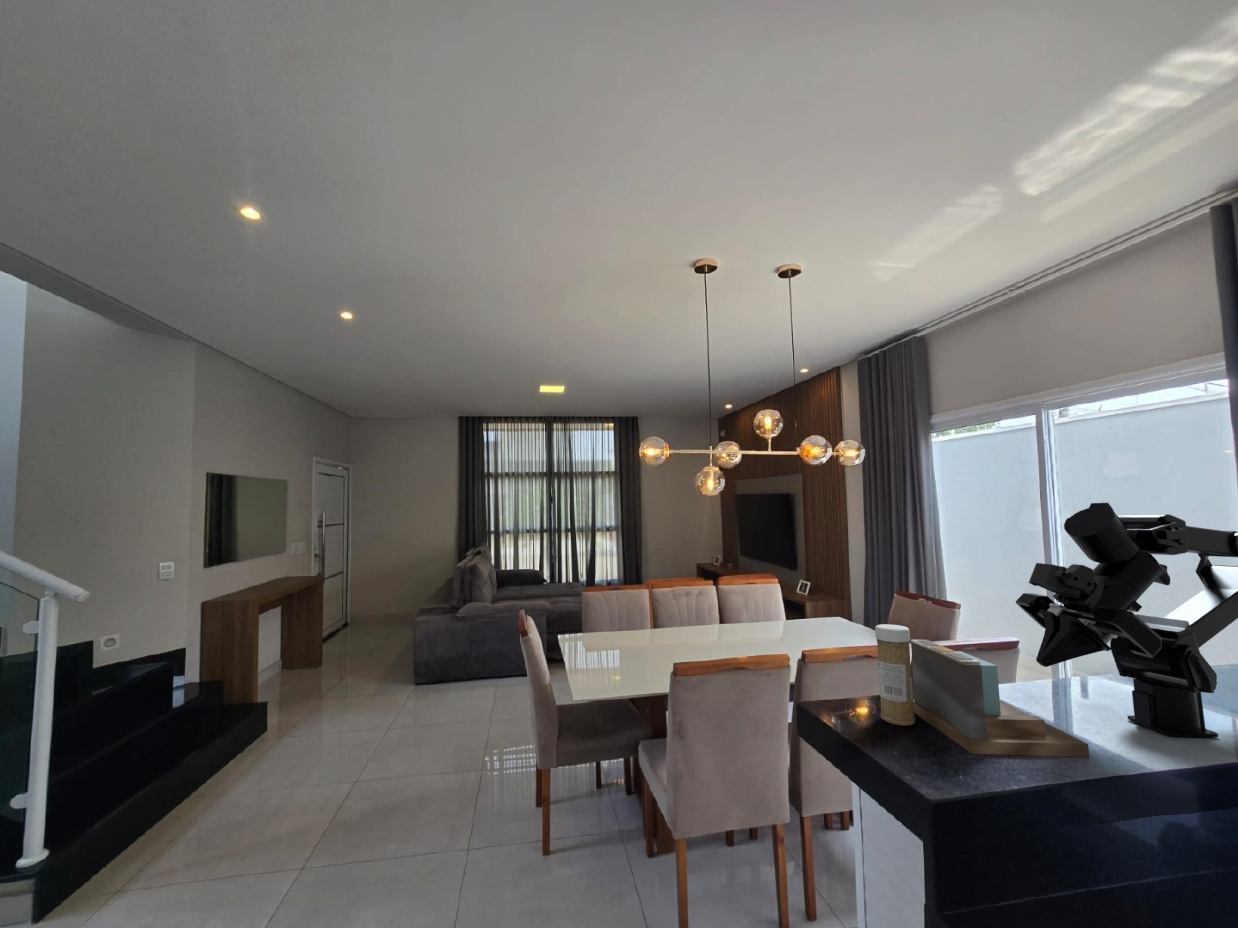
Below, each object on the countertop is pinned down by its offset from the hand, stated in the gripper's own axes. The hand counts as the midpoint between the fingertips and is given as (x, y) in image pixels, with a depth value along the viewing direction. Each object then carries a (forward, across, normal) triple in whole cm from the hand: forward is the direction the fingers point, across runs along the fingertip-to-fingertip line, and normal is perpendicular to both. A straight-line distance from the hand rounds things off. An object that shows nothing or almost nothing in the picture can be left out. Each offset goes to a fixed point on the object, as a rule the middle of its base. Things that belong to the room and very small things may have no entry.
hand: (1040, 663), depth 74 cm
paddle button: (+12, 0, -2) cm, 12 cm away
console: (+12, 0, +1) cm, 12 cm away
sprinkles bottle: (+20, -2, -7) cm, 21 cm away
